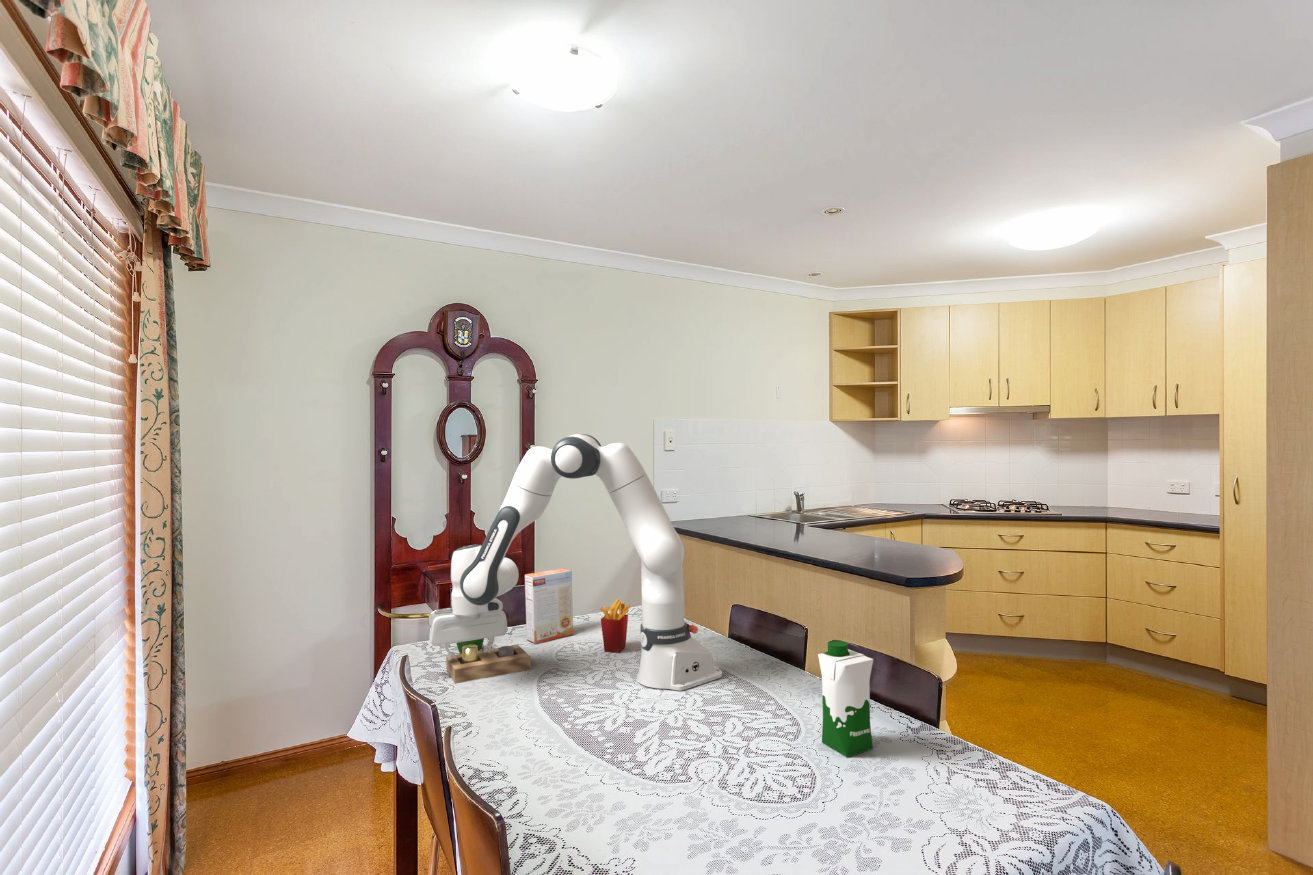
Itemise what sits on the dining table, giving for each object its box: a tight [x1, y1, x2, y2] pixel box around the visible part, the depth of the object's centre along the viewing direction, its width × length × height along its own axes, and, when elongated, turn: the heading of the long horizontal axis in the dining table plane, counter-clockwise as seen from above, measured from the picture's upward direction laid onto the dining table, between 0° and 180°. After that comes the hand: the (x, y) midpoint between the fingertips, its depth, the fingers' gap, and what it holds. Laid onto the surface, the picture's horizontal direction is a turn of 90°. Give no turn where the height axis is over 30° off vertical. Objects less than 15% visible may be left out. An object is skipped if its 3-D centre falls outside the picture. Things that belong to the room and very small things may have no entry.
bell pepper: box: [455, 638, 485, 654], centre depth 194 cm, size 8×8×10 cm
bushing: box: [462, 645, 478, 664], centre depth 178 cm, size 4×4×7 cm
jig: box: [445, 644, 531, 684], centre depth 180 cm, size 20×12×5 cm, turn 118°
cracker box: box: [524, 567, 574, 645], centre depth 208 cm, size 14×6×21 cm, turn 128°
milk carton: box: [817, 640, 874, 758], centre depth 132 cm, size 9×9×20 cm
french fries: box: [599, 598, 632, 654], centre depth 195 cm, size 9×8×15 cm
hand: (469, 656), depth 178 cm, fingers open, 8 cm apart
